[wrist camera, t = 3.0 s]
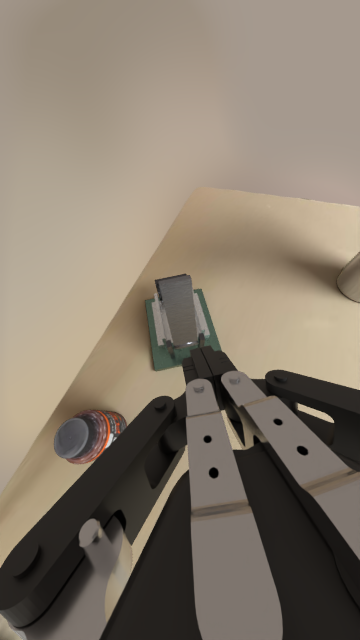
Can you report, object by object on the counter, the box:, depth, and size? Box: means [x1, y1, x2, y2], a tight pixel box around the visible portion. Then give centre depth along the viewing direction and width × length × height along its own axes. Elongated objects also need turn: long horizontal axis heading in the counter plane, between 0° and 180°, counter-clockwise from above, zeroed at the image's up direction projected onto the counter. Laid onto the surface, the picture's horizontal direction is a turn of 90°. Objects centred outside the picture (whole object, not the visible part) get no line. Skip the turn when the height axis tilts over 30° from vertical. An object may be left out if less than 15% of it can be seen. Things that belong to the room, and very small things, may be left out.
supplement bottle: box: [54, 410, 127, 464], centre depth 26 cm, size 6×6×11 cm
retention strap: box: [158, 275, 198, 350], centre depth 27 cm, size 1×4×13 cm, turn 101°
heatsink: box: [145, 274, 222, 371], centre depth 36 cm, size 16×13×8 cm
